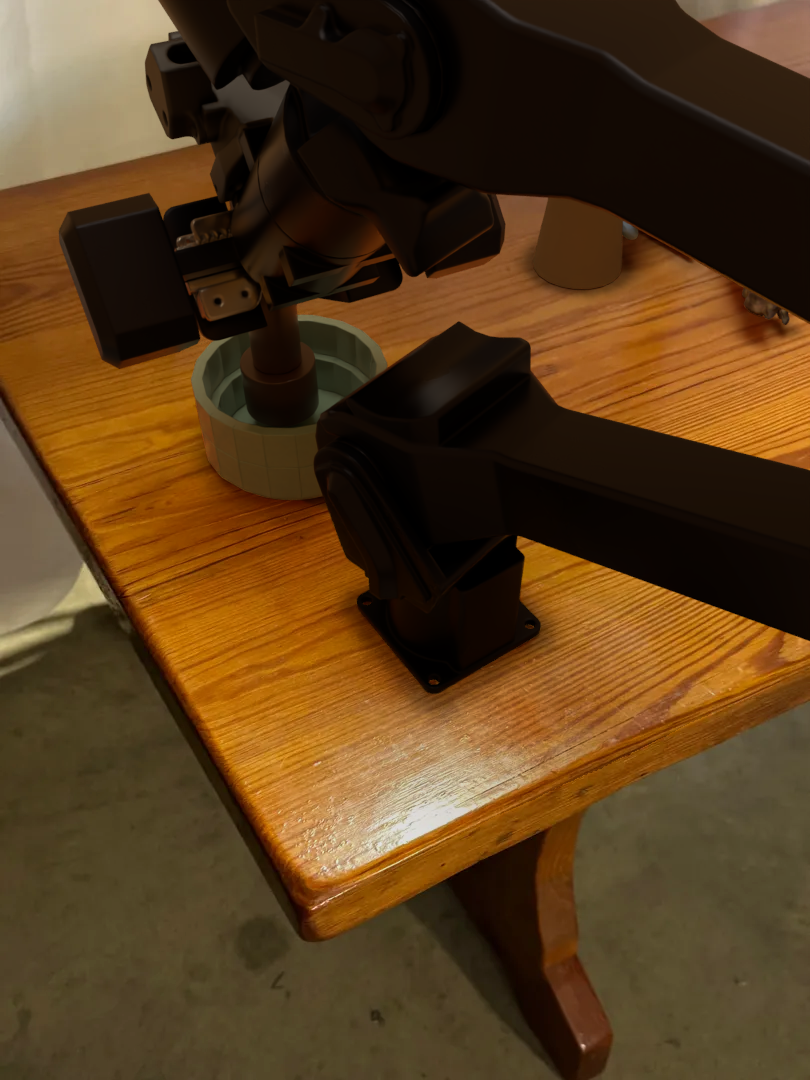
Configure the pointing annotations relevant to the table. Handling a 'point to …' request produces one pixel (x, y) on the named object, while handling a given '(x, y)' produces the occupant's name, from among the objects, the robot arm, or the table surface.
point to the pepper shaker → (578, 245)
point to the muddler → (279, 371)
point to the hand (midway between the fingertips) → (260, 288)
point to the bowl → (265, 451)
